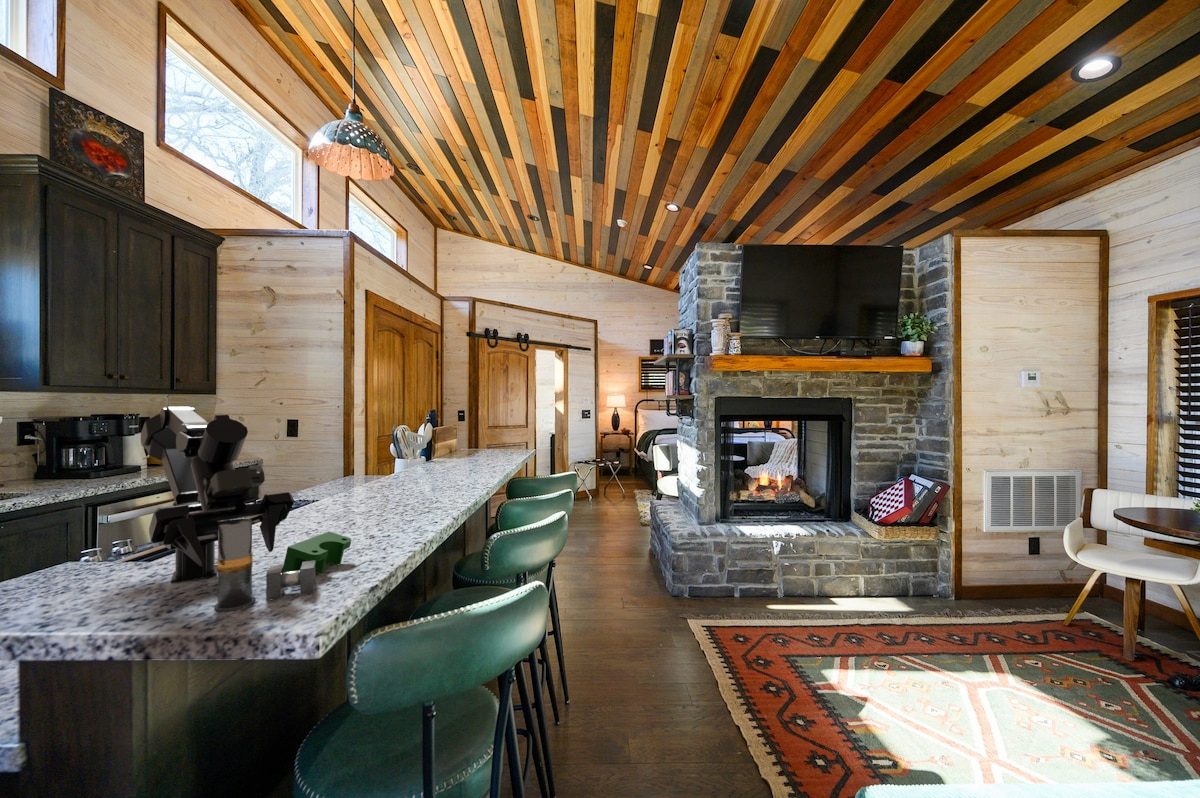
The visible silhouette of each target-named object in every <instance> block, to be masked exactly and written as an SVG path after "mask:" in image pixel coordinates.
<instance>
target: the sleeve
mask: <svg viewBox="0 0 1200 798" xmlns="http://www.w3.org/2000/svg"><path fill="white" fill-rule="evenodd" d="M253 556H254V555H253V520H252V519H250V518H239V519H233V520H229V521H225V522H221V523H219V524H218V541H217V558H216V560H217V561H216V562H217V563H216V565H217V603H218V607H220V608H233V607H238V606H241V605H244V604H247V603H249V602H250V601H251V600H252V597H253V566H254V565H253V564H254V563H253V560H254V559H253Z"/></svg>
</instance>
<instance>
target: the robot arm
mask: <svg viewBox="0 0 1200 798" xmlns="http://www.w3.org/2000/svg"><path fill="white" fill-rule="evenodd" d="M248 433H249V431H248V427H247V426H245V425H244V424H243V423H242V422H240V421H238V420H235V419H232V418H230V415H229V414H215V415H214V416H213V419H212V420H211V421H210V422H208V421H206V420H205V419H204V418H203V417H202V416H200V415H199V414H198V413H196V409H195V407H191V406H165V407H162V408H161V410H160V411H159V413H158V414H156V415H154V416H152V417H151V418H148V419H147V420H145V421H144V424H143V426H142V429H141V432H140V443H141V446H142V447H144V448H145V450H146V452H147V455H148V456H149V457H151V458H153V459H156V460H158V461H161V463H162V466H163V469H164V472H165V475H166V478H167V481H168V484H169V488H170V490H171V492H172V493H171V494H172V496H173V499H174V502H173V504H172V505H171V506H164V507H162V506H161V507H158V508H157V509H155V510H154V512H153V514H152V517H151V521H150V524H149V526H148V527H149V528H148V533H149V539H150V542H151V543H155V544H156V543H161V542H162V543H163V546H164V547H165V548H167V549H168V550H169V551H170V550H174V549H175V571H173V574H172V577H171V580H170V583H171V584H175V583H181V582H188V581H193V580H198V579H199V580H200V579H204V578H205V579H206V578H212V577H216V576H218V572H217V564H215V560H216V557H215V555H216V552H215V550H216V548H215V546H216V542H218V524H219V523H221V522H225V521H229V520H236V519H246V518H250V517H251V518H252V517H257V516H258V517H257V518H258V521H259V522H261V523H260V525H259V529H260V532H261V535H262V538H263V541H264V545H265V547H266V549H267V551H268V552H269V553H272V552H273V550H274V548H275V547H274V545H275V541H276V540H275V539H276V530H277V526H279V525H280V523H281V522H283V521H285V520H286V519H287V518H288V515H289V513H290V511H291V509H292V508H293V506H294V503H295V501H294V497H293V495H292V494H291V493H290V492H289V491H280V492H273V493H272V492H271V493H266V494H264V495H263V497H262V501H261V502H258V503H252V504H246V501H249V499H250V497H251V494H250V490H252V489H253V488H254V487H259V486H262V485H263V483H264V482H265V481H266V480H265V479H266V477H265V472H264V469H263V466H262V465H260V464H258V465H249V466H248V468H239V469H238V468H237V469H235V466H234V464H233V462H235V461H238V460H239V457H240V455H241V451H242V448H243V446H244V443H245V440H246V439H247V436H248Z"/></svg>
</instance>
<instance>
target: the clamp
mask: <svg viewBox="0 0 1200 798" xmlns="http://www.w3.org/2000/svg"><path fill="white" fill-rule="evenodd" d="M351 544H352V538H350V537H348V536H345V535H342V534H339V533H335V532H333V531H330V530H329V531H326V532H324V533H321V534H318V535H315V536H312V537H310V538H308V539H305V540H302V541H300V542H297V543H294V544H291V545H289V546H287V549H286V554H285V558H284V561H283V564H284V572H290V571H297V570H300V569H301V566H302V562H306V561H314V560H316V574H318V575H323V574H324V571H325V566H326V564H329V565H330V564H333V565H335V564H341V565H342V560H343V556H344V552H345V551H346V550H348V549H349V548H350V547H351Z"/></svg>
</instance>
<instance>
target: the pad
mask: <svg viewBox="0 0 1200 798" xmlns="http://www.w3.org/2000/svg"><path fill="white" fill-rule="evenodd" d="M255 601H256V602H257V599H256V597H255V596H252V600H251V601H250V602H249V603H247V604H244V605H241V606H238V607H233V608H220V607H218V602H217V603H216V604H215V605H214V606H213V608H214V611H216V612H222V613H223V612H232V611H237V610H238V609H239V610H242V609H245V608H247V606H248V607H250V606H252V605H254V604H255V603H256V602H255ZM254 602H255V603H254ZM253 603H254V604H253ZM251 604H252V605H251ZM249 605H250V606H249ZM244 607H245V608H244ZM239 610H238V611H239Z"/></svg>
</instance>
